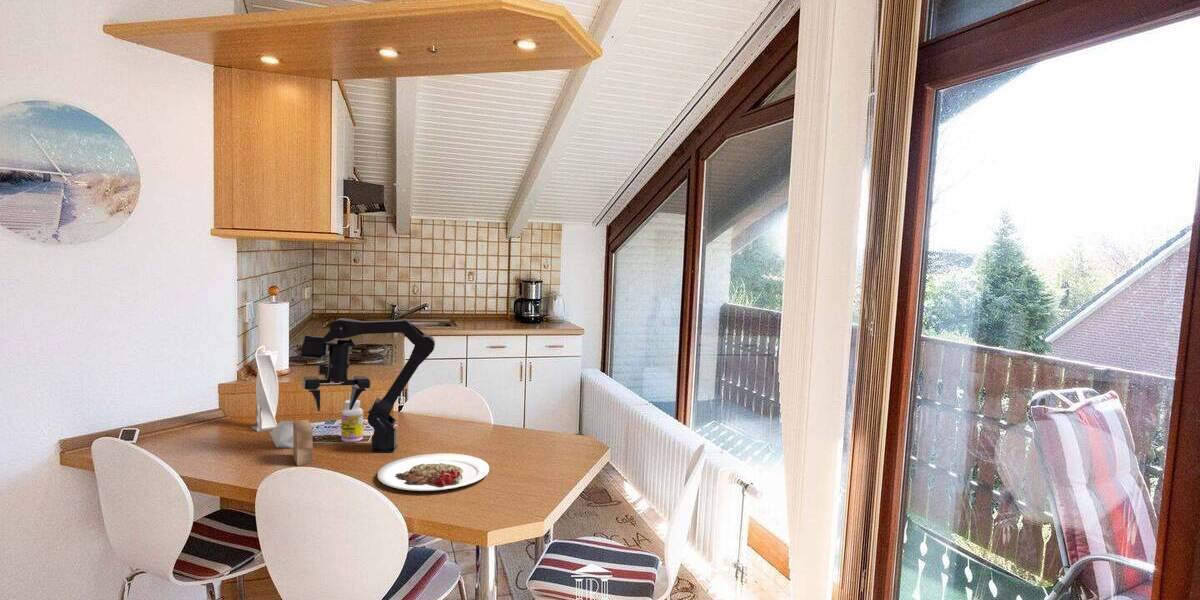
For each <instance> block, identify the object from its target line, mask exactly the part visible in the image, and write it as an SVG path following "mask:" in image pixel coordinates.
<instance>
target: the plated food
mask: <svg viewBox="0 0 1200 600" xmlns="http://www.w3.org/2000/svg"><path fill="white" fill-rule="evenodd" d="M489 471H490V466H489V463H487V462H486V461H485V460H483V459H481V458H479V457H476V456H473V455H469V454H468V455H467V454H461V453H450V452H449V453H446V452H444V453H437V452H436V453H425V454H416V455H412V456H408V457H407V456H406V457H403V458H398V459H396V460H394V461H391V462H389V463H387V464H385V465H383V466H382V467H380V468H379V470H378V471H377V479H378V480H379V482H380V483H382V484H383V485H386V486H388V487H391V488H395V489H397V490H406V491H419V492H420V491H421V492H429V491H430V492H431V491H432V492H433V491H435V492H436V491H444V490H448V489H451V490H452V489H457V488H460V487H464V486H469V485H471V484H475V483H476V482H479V481H480V480H482V479H483V478H485V477H486V476H487V475H488V473H489Z"/></svg>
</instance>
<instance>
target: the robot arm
mask: <svg viewBox="0 0 1200 600" xmlns="http://www.w3.org/2000/svg"><path fill="white" fill-rule="evenodd" d="M395 333H396V334H399V333H401V334H402V335H404V336H405V337H406V338H407V340H409V342H411V344H412V345H414V346H413V349H412V351H411V353H410V355H409V358H408V359H407V361H406V363H405V364H404V366H403V367H402V369H401V370H400V372H399V374H398V375H397V376H396V378H395V380H394V381H393V382H392V384H391V386H390V387H389V388H388V390H387V392H386V394H385V395H383V396H382V398H379V397H376V398H375V399H374V400H375V401H374V402H373V404H372V405H371V406H370V407H369V409H368V411H367V414H368V415H367V423H368V425H369V426H370V427H372V429H373V434H372V435H371V449H372V450H371V452H372V453H394V452H395V451H396V450H397V448H398V447H399V445H398V444H397V428H395V426H396V422H397V420H396V419H395V418H394V417H393V416H392V415H391V412H392V411H393V407H394V405H395V403H396V402H397V400H398V398H399V397H400V395H401V393H402V392H403V391H404V389H405V388H406V386H407V385H408V383H409V381H410V380H411V378H412V377H413V376H414V374H415V373H416V371H417V369H418V368H419V366H420V365H421V364H422V363H423V362H424V361H425V360H426V359H427V358H428V357H429V356H430V355H431V354H432V353H433V352H434V349H435V347H436V340H435V339H434V337H433V336H432V335H429V334H426V333H424V332H423V331H422V330H421V329H420V328H419V327H417V326H415V324H413V323H412V322H411V321H410V320H409V319H406V318H404V319H398V320H397V319H396V320H395V319H393V320H392V319H391V320H389V319H388V320H366V321H365V320H358V319H354V318H353V319H352V318H346V317H345V318H344V317H341V318H338V319H336V320H334V321H333V322H332V323H330V327H329V331H328V332H326V334H325V335H324V336H317V335H312V334H311V335H310V334H306V335H304V337H303V338H304V339H303V343H302V346H301V352H300V354H301V355H300V356H301V358H303V359H321V360H323V359H324V357H326V356H327V355H328V360H327V361H328V362H327V366H326V364H318V366H317V375H318V376H323V379H320V378H319V377H318V376H304V377H303V378H302V380H301V387H303V389H304V390H307V391H308V392H309V393H311V394H312V396H313V400H314V402H315V407H316V409H317V410H316V411H317V412H320V409H321V390H320V389H319V388H320V387H321V386H322V387H325V386H327V387H330V386H335V387H336V386H351V393H350V399H349V400H350V404H349V410H352V408H353V406H354V404H355V402H356V400H358V398H359V397H360V396H361V394H362V392H366V389H370V388H371V379H369V378H368V377H367V376H366V375H359V376H358V375H356V376H355V375H353V378H348V374H349V372H348V371H349V366H350V365H349V363H350V362H349V361H350V350H351V349H350V347H352V348H353V347H356V346H357V345H358V344H357V342H356V341H355V340H354V339H353V337H356V336H359V335H360V336H361V335H372V334H395ZM346 338H349V339H346ZM336 339H337V341H334V340H336Z"/></svg>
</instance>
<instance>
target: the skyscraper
mask: <svg viewBox="0 0 1200 600" xmlns="http://www.w3.org/2000/svg"><path fill="white" fill-rule="evenodd" d="M260 349H262V351H261V353H258V351H259V350H260ZM279 353H280V352H279V351H276V350H275V351H273V352H272V350H266V346H265V345H261V346H260V347H258V348H257V349H256V351H255V354H254V357H255V362H256V365H257V374H256V380H255V395H256V396H255V397H256V420H255V423H256V425H252V426H251V429H253V430H254V431H255V432H256V433H260V432H261V433H262V432H266V431H267V432H269V431H272V430H273V429H274V428H275V427H276V426H277V424H278V423H277V420H276V414H277V410H278V403H279V378H278V373H277V370H276V366H277V361H278V358H279Z"/></svg>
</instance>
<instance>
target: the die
mask: <svg viewBox="0 0 1200 600" xmlns="http://www.w3.org/2000/svg"><path fill="white" fill-rule="evenodd" d="M293 421H294V420H280V421H279V422H278V423H277V426H276V427H275V428H274V429H273V430H270V432H269V435H270V437H271V438H272V441H273V443H274V446H275V447H276V448H281V449H282V448H283V449H284V448H286V449H289V448H290V449H291V448H292V449H293Z"/></svg>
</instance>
